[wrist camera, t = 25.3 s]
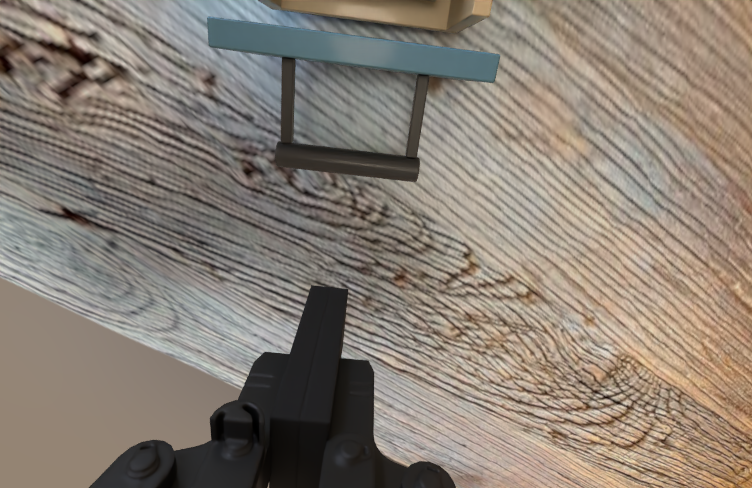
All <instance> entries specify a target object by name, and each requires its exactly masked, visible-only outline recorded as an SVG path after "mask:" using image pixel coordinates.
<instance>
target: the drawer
mask: <svg viewBox="0 0 752 488" xmlns="http://www.w3.org/2000/svg"><path fill="white" fill-rule="evenodd" d="M258 1H260V2H261V3H263V4H265V5H266V6H268V7H270V8H271V9H275V10H282V11H290V12H297V13H305V14H312V15H320V16H327V17H335V18H343V19H350V20H358V21H365V22H373V23H380V24H388V25H396V26H403V27H411V28H418V29H426V30H433V31H441V32H449V33H457V32H459V31H461V30H463V29H465V28H467V27H470V26H472V25H474V24H476V23H478V22H480V21H482V20H484V19H486V18H488V17H489V16H490V11H491V6H492V1H493V0H436V1H435V2H431V1H423V0H258ZM207 22H208V40H209V46H210V47H213V48H220V49H226V50H233V51H239V52H245V53H252V54H258V55H266V56H274V57H282V94H281V141H279V142H278V143H277V146H276V152H275V161H276V165H277V166H278V167H286V168H295V169H304V170H313V171H322V172H330V173H339V174H348V175H357V176H366V177H374V178H383V179H392V180H401V181H409V182H416V181H417V179H418V174H419V167H420V159H419V158H418V157H417V152H418V146H419V139H420V133H421V127H422V120H423V114H424V108H425V101H426V95H427V89H428V82H429V76H432V77H439V78H447V79H455V80H465V81H477V82H488V83H494V81H495V78H496V73H497V69H498V64H499V60H500V55H499V54H493V53H485V52H477V51H470V50H462V49H454V48H447V47H439V46H431V45H424V44H416V43H408V42H401V41H393V40H385V39H378V38H370V37H362V36H355V35H347V34H339V33H332V32H324V31H316V30H309V29H301V28H293V27H286V26H278V25H270V24H263V23H255V22H247V21H240V20H232V19H224V18H217V17H208V18H207ZM295 59H297V60H305V61H313V62H321V63H329V64H337V65H345V66H353V67H361V68H368V69H376V70H384V71H392V72H400V73H408V74H416V75H417V79H416V86H415V93H414V100H413V107H412V114H411V121H410V127H409V134H408V141H407V148H406V156H401V155H392V154H384V153H375V152H367V151H358V150H350V149H341V148H332V147H324V146H315V145H307V144H298V143H292V142H293V135H294V98H295V61H296V60H295Z"/></svg>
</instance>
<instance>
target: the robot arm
mask: <svg viewBox="0 0 752 488" xmlns="http://www.w3.org/2000/svg"><path fill="white" fill-rule="evenodd" d="M347 298H348V289H342V288H332V287H322V286H312V285H311V289H310V292H309V295H308V298H307V301H306V304H305V308H304V311H303V314H302V317H301V320H300V323H299V327H298V330H297V333H296V336H295V339H294V342H293V346H292V349H291V352H290V354H282V353H271V352H264V353H263V354H262V355H261V356H260V357H259V358H258V359H257V360H256V361H255V362H254V363H253V366H252V368H251V370H250V373H249V376H248V377H247V380H246V382H245V385H244V387H243V389H242V391H241V394H240V396H239V398H238V400H235V401H232V402H229V403H226V404H224V405H223V406H221V407H220V408H218V409H217V410H216V411H215V412H214V413H213V415H212V416H211V417H210V426H211V439H212V440H211V441H209V442H207V443H205V444H202V445H199V446H196V447H191V448H186V449H181V450H176V451H174V450H173V448H172V446H171V445H170V444H168V443H166V442H165V441H160V440H150V441H145V442H141V443H139V444H137V445H135V446H133V447H131V448H129V449H128V450H127V451H125V452H124V453H123V454H122V455H120V456H119V457H118V458H117V459H116V460H115V461H114V462H113V463H112V464H111V465H110V467H109V468H108V469H107V470H106V471H105V472H104V473H103V474H102V475H101V476H100V477H99V478H98V479H97V480H96V481H95V482H94V483H93V484H92V485H91V486H90V487H89V488H267V487H268V483H269V488H456V486H455V484H454V482H453V480H452V479H451V477H450V476H449V474H448V473H447V472H446V471H445V470H444V469H443V468H441V467H440V466H439V465H436V464H434V463H431V462H423V461H419V462H417V463H414V464H411V465H410V466H409V467H408V468H407V467H404V466H402V465H399V464H397V463H395V462H392V461H390V460H389V459H387V458H386V457H385V456H384V455H383V454H382V453H381V452H380V451H379V449H378V448H377V446H376V444H375V441H374V435H373V427H374V371H373V369H372V367H371V365H370V363H369V361H366V360H355V359H345V358H341V354H342V347H343V338H344V328H345V318H346V308H347Z"/></svg>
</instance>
